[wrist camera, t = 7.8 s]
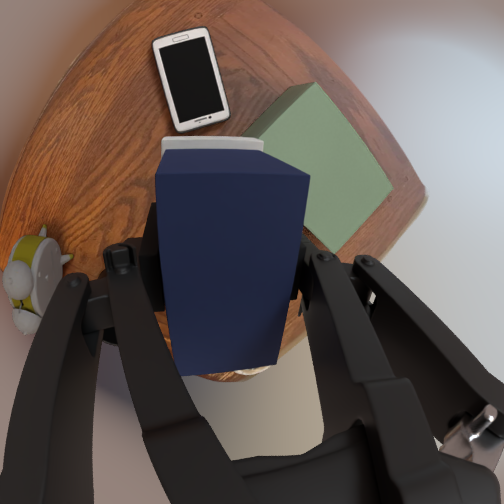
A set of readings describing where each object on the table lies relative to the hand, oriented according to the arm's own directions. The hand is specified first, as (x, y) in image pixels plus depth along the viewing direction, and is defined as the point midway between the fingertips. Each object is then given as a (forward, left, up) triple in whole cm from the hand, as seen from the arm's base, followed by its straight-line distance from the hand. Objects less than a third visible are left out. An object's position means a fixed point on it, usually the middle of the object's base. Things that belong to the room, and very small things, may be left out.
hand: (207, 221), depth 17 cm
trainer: (+1, +1, 0) cm, 1 cm away
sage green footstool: (-15, +8, -23) cm, 28 cm away
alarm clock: (+26, -1, -23) cm, 35 cm away
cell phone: (-6, -11, -23) cm, 26 cm away
